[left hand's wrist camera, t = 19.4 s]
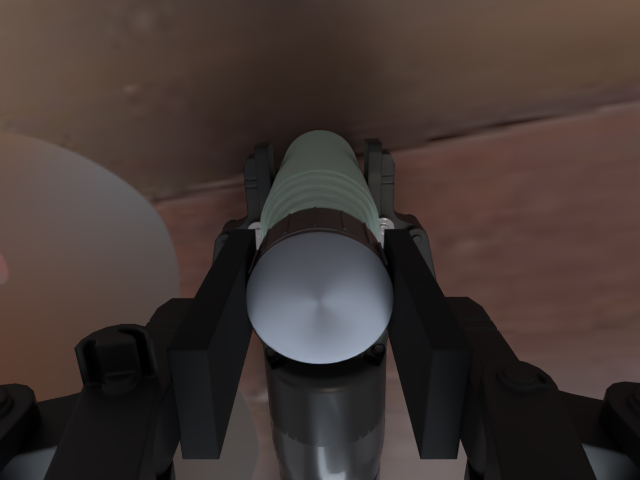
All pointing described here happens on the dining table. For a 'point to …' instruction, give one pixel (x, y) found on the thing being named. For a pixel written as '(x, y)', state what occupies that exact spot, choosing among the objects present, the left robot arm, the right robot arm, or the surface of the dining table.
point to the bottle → (319, 181)
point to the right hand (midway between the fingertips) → (317, 144)
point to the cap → (319, 287)
